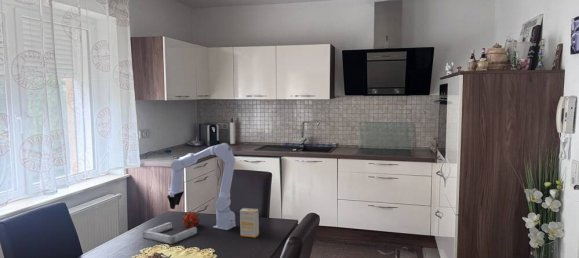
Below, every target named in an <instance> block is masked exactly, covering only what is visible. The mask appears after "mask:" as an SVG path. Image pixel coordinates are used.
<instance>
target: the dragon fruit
mask: <svg viewBox="0 0 579 258" xmlns="http://www.w3.org/2000/svg"><path fill="white" fill-rule="evenodd" d="M199 216H200V214H199V213H197V212H195V211H188V212H187V213H185V214H184V215H183V217H182V223H183V225H184V227H186V229H190V228H192V227H197V226H198V225H199V224H200V217H199Z"/></svg>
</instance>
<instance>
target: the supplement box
mask: <svg viewBox="0 0 579 258" xmlns="http://www.w3.org/2000/svg"><path fill="white" fill-rule="evenodd" d="M259 217H260V216H259V208H249V207H248V208H247V207H243V208H241V209H240V210H239V222H240V223H239V226H240V228H239V229H240V230H239V231H240V233H239V234H240V237H246V238H252V239H253V238H254V239H256V238H257V237H258V236H259V235H260V228H259V227H260V226H259V225H260V224H259V222H260V220H259Z"/></svg>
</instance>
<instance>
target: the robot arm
mask: <svg viewBox="0 0 579 258" xmlns="http://www.w3.org/2000/svg"><path fill="white" fill-rule="evenodd" d="M208 155H209V156H210V155H212V156H216V157H218V158H220V159H221V160H222V162H224V168H223V173H222V178H221V184H220V185H221V186H220V190H219V191H220V192H219V195H218V197H217V199H216V202H215V204H214V208H215V212H216V213H215V214H216V220H215V221H216V225H214V226H213V225H212V228H214V229H219V230H224V231H228V230H231V229H232V228H235V227H237V225H236V214H235V212H234V211H232V210H231V208H230V205H231V204H232V203H231V202H232V200H231V187H232V182H233V175H234V170H235V163H236V158H235V156H234V152H233V149H232V147H231V146H230V144H229V143H227V142H222V143H220V144H216V145H212V146H209V147H207V148H205V149H203V150H201V151H198V152H196V153H194V152H191V153H190V152H188V153H186V155H184V156H180V157H178V158H177V159H174V160H173V161H172V162H171V164H170V168H171V169H172V170H171V179H170V181H171V182H170V188H168V189H167V191H168V192H169V194H167V196H166V197H167V198H166V199H168V202H169V209H170V210H175V209H176V206H179V205H180V203H181V200H182V198H183V195H184V193H185V192H184V191H183V181H184V180H183V178H184V169H185V168H188V167H190V166H192V165H195V164H196V163H198V160H199V159H202V158H204V157H206V156H208Z"/></svg>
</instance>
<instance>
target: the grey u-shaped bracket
mask: <svg viewBox="0 0 579 258" xmlns="http://www.w3.org/2000/svg"><path fill="white" fill-rule="evenodd" d="M171 229H173V223H172V222H170V221H169V222H164V223H162V224H160V225H157V226H155V227H151V228H148V229H146V230H143V231H142V239H146V240H152V241H155V242H160V243H166V244H171V245H173V244H175V243H178V242H180V241H182V240H185V239H187V238H189V237H191V236H194V235H196V234H197V233H198V227H197V226H196V227H191V228H189V229H188V228H186V229H185V230H183V231H180V232H178V233H175V234H173V235H169V234H165V233H163V232H166V231H168V230H171Z"/></svg>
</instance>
